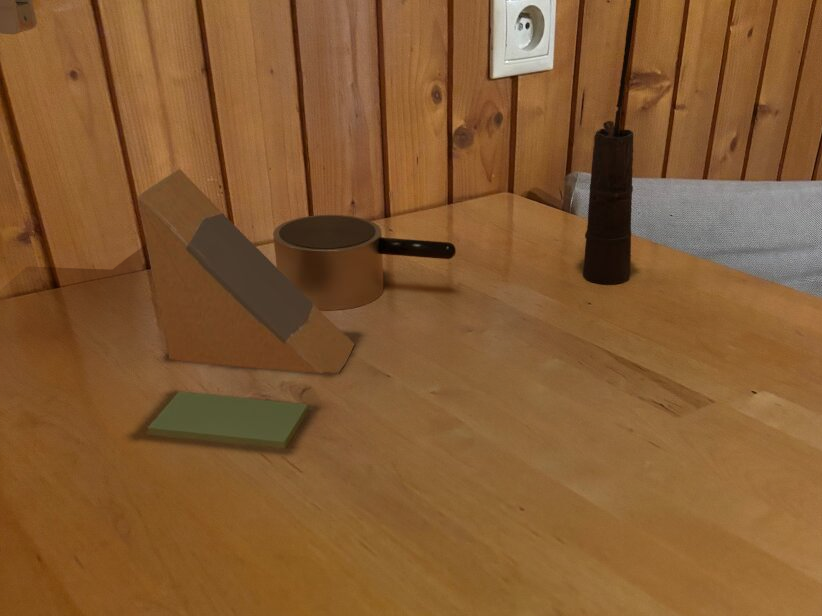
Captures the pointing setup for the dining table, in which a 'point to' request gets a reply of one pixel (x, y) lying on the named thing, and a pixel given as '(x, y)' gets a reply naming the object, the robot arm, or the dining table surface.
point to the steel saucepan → (342, 258)
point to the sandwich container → (228, 290)
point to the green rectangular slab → (229, 419)
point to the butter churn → (611, 194)
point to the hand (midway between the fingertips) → (17, 31)
